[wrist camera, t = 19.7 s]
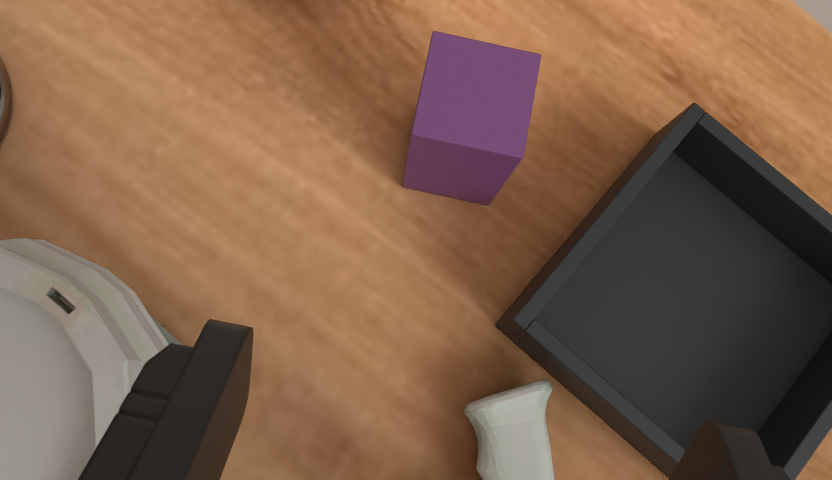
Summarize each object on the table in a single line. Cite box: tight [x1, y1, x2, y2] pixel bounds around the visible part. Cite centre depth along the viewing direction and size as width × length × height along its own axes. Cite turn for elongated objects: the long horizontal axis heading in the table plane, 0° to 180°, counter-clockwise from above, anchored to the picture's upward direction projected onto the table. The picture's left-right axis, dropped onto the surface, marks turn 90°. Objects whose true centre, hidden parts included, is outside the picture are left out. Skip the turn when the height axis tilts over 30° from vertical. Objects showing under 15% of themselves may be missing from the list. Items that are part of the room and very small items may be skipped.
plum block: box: [402, 31, 541, 205], centre depth 31 cm, size 4×4×8 cm
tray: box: [495, 103, 832, 480], centre depth 33 cm, size 13×13×4 cm
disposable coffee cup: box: [0, 238, 184, 480], centre depth 25 cm, size 11×11×15 cm
